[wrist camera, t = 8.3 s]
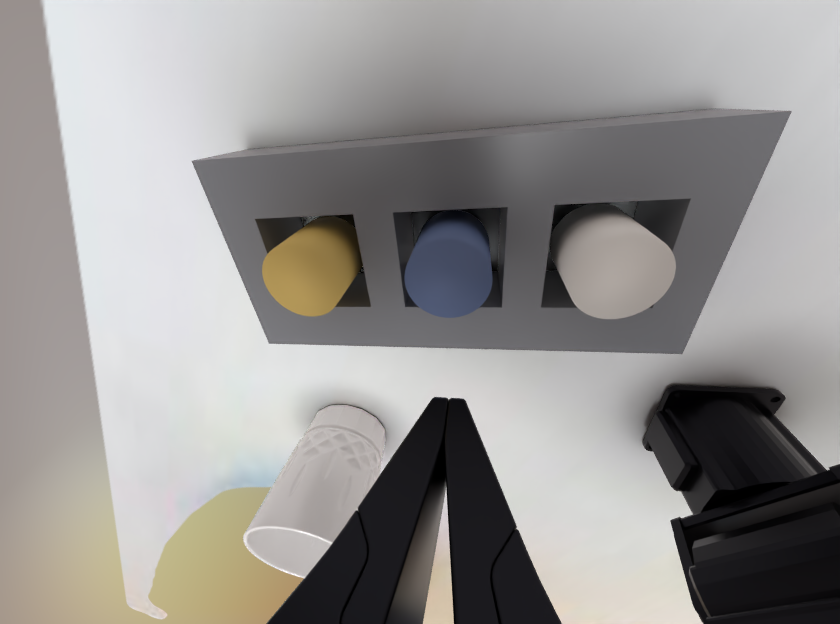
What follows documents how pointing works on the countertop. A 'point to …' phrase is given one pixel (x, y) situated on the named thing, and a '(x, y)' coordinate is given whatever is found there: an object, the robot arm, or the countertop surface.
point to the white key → (610, 262)
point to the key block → (519, 222)
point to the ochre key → (313, 266)
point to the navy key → (450, 265)
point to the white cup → (317, 489)
